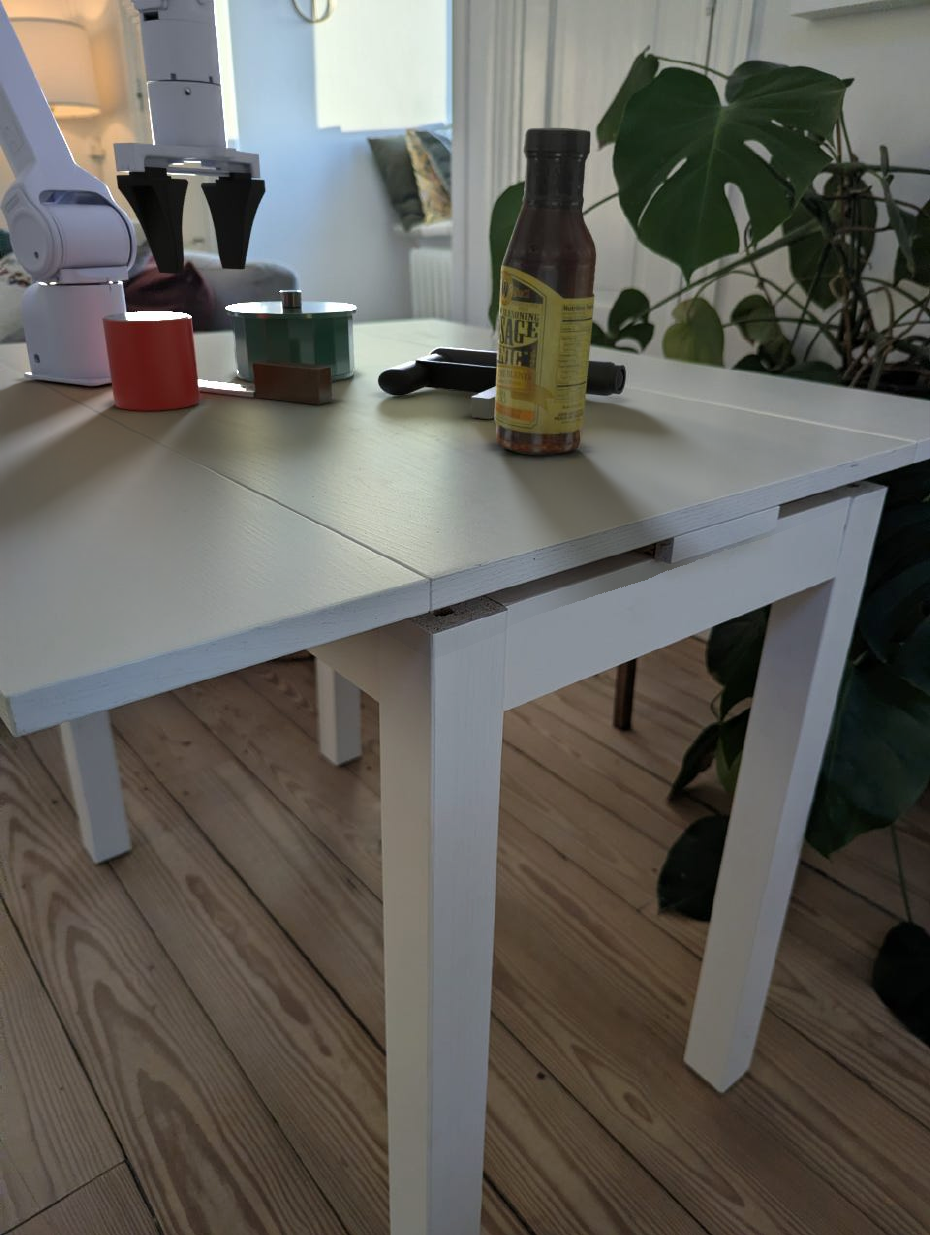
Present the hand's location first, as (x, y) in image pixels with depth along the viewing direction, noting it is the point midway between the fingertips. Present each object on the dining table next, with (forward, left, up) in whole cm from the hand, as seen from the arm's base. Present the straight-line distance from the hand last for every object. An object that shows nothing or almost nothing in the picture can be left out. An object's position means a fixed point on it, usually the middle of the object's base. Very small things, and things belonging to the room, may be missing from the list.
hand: (203, 271), depth 77 cm
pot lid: (-1, +13, -4) cm, 14 cm away
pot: (-1, +13, -10) cm, 17 cm away
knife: (+3, +2, -10) cm, 11 cm away
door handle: (+22, +11, -11) cm, 27 cm away
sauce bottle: (+33, -4, -11) cm, 35 cm away
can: (-2, -5, -10) cm, 12 cm away
